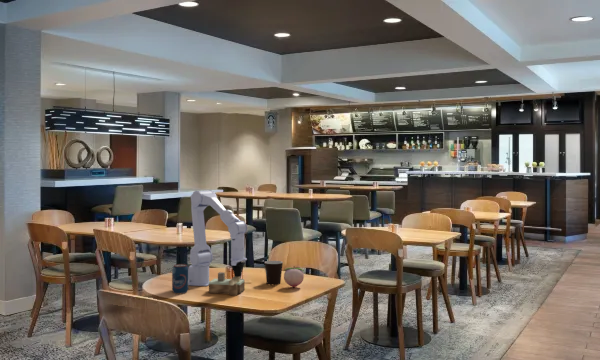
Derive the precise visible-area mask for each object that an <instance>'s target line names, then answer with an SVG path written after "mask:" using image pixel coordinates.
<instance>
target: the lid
mask: <svg viewBox="0 0 600 360" xmlns="http://www.w3.org/2000/svg"><path fill="white" fill-rule="evenodd" d="M225 274H226V272H225V271H224V272H223V271H222V272H221V271H220V272H218V273H217V278H213V279H211V280H209V281H210V282H209V284H219V285H229V281H230V280H231V279H232V278H225V277H226V275H225ZM241 279H242V278H241ZM241 279H240V281H239V282H237V283H235V284H237V285H241V284H242V283H243V282H244V281H245V279H244V280H241Z"/></svg>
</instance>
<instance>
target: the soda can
mask: <svg viewBox="0 0 600 360" xmlns="http://www.w3.org/2000/svg"><path fill="white" fill-rule="evenodd" d="M171 269H172V271H171V289H172V292H173V293H174V294H176V293H182V294H185V293H188V290H189V285H188V269H189V266H188V265H187V264H185V263H177V264H173V267H172V268H171Z"/></svg>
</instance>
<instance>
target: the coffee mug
mask: <svg viewBox="0 0 600 360" xmlns="http://www.w3.org/2000/svg"><path fill="white" fill-rule="evenodd" d="M283 263H284V262H283V261H281V260H267V261H264V270H265V279H266V284H267V285H271V286H273V285H274V286H276V285H277V286H278V285H280V284H281V282H282V271H283V265H284V264H283Z"/></svg>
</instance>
